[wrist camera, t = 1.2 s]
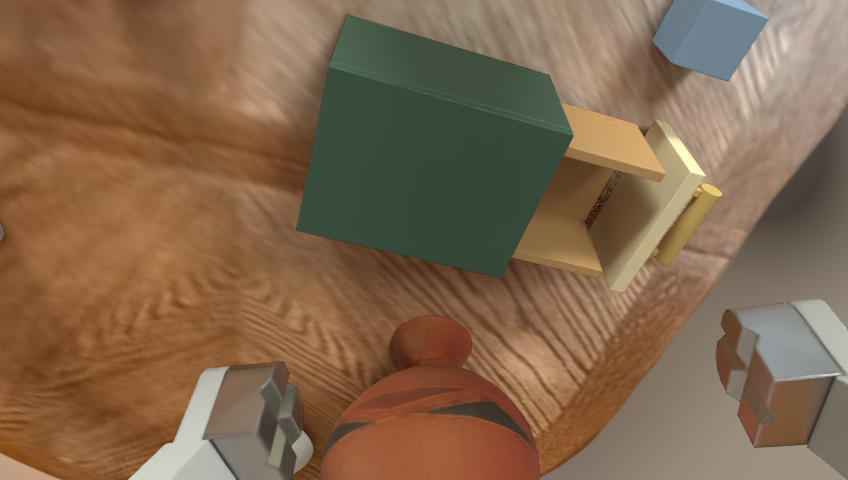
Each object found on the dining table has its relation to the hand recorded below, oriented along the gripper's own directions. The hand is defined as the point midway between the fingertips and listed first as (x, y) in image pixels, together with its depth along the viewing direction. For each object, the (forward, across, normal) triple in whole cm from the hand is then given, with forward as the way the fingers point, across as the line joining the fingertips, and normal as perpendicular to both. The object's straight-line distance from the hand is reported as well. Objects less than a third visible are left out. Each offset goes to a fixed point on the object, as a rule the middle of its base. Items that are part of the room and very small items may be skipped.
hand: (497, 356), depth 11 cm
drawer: (+34, -8, +18) cm, 39 cm away
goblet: (+35, +8, +38) cm, 52 cm away
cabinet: (+35, +4, +12) cm, 37 cm away
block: (+35, -17, +7) cm, 39 cm away
